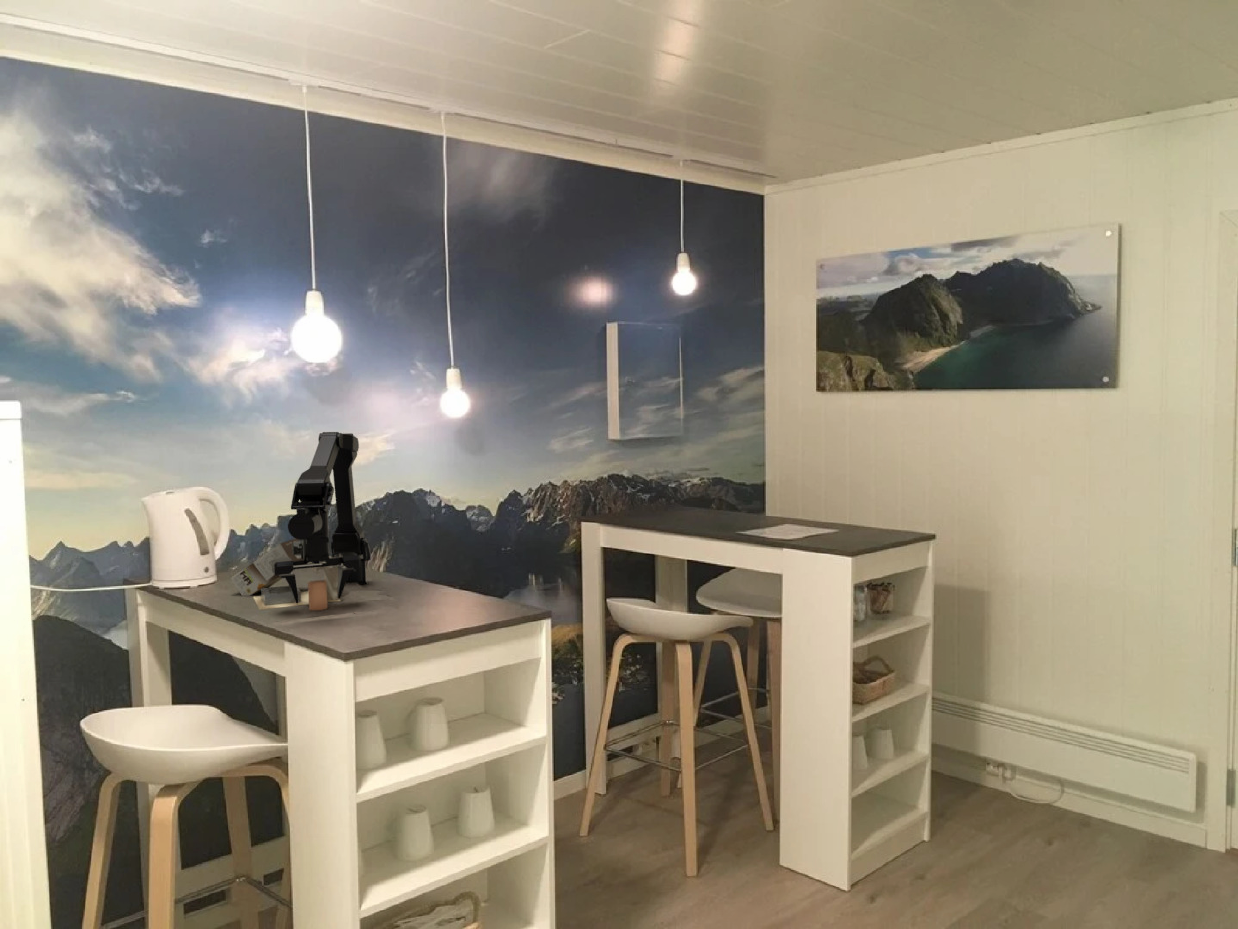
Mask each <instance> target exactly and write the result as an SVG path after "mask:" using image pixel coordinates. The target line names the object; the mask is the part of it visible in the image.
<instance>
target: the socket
mask: <svg viewBox="0 0 1238 929" xmlns="http://www.w3.org/2000/svg"><path fill="white" fill-rule="evenodd" d="M260 592H261V594H260V596H261V599H262V601H263V602H264V604H265V606H266V605H275V604H285V603H294V602H295V599H294V597H293V594H292V591H291V589H290V586H289V585H284V586H283V585H282V586H271V587H269V588H261V591H260ZM297 592H298V602H301V592H302V591H301V590H300V589H299V587H298V586H297Z"/></svg>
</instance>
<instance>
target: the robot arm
mask: <svg viewBox="0 0 1238 929" xmlns="http://www.w3.org/2000/svg"><path fill="white" fill-rule="evenodd" d="M359 445H360V443H359V438H358V437H356V436H355V435H354V434H353V433H348V432H347V433H342V432H339V431H323V432H321V433H319V434H318V444H317V446H316V449H315V452H314V454H313V458H312V461H311V464H310V466H309V468H308V469H307V470H305V471H303V472H302V473H301V474H300V475H299V478H298V479H297V482H295V484H294V489H293V495H292V500H291V504H290V509H291V510H296V514H294V515H293V516H291V517H290V518H289V521H288V523H287V530H288V532H289V534H290V536H292V537H293V539H299V540H300V541H292V555H293V556H299V555H301V560H300V561H292V559H291V558H279V559H274V560H273V561H272V572H273V573H274V574H275V575H279V576H280V577H281V578H282V579H284V580H286V582H287V584H288V586H290V589H291V591H292V594H293V597H294V599H295V602H296V603H298V592H297V587H298V585H297V580H296V573H294V571H293V569H295V570H299V569H312V568H313V567H324V566H335V565H338V586H337V597H338V599H340V600H341V597H342V595H343V592H344V588H345V586H346V583H349V584H350V583H353V584H354V583H357V584H358V585H359V586H363V585H364V586H365V585H368V581H367V580H366V579H367V576H366V575H367V574H366V573H367V572H366V570H367V569H366V562H367V561H371V560H372V554H371V548H370V545H369V542H368V540H367V537H365V530H364V528H363V527H362V526H361V525H360V523H359V522H358V521H357V514H356V511H357V510H356V504H355V503H356V500H355V491H354V488H355V487H354V479H353V465H354V462H355V460H356V459H357V457H358V452H359V448H360V446H359ZM332 473H333V483H332V482H331V478H330V477H331V474H332ZM334 494H335V506H336V509H335V510H336V518H337V527H336V528H335V530H334V533H333V534H332V536H331V540H330V538H329V535H330V534H329V532H330V531H329V513H328V512H329V511H328V509H329V507H330V506H331V505H332V501H333V497H334ZM330 541H331V542H330ZM301 543H302V544H301ZM330 549H331V555H332V556H331V555H330ZM330 556H331V557H332V558H330ZM309 562H311V564H308V563H309ZM323 562H326V563H323Z"/></svg>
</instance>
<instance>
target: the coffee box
mask: <svg viewBox="0 0 1238 929" xmlns="http://www.w3.org/2000/svg"><path fill="white" fill-rule="evenodd" d="M292 541H301V540H299V539H296V538H293V539H289V540H286V541H283V542H280V543H279V544H278V545H277V546H275V547H273V548H272V549H270V550H269V551H268V552H267V553H265V554H263V555H261V556H260V557H259V558H257V559H256V560H255V561H254V562H252V563H251V564H248V565H247V566H246V567H245V568H243V569H242V570H240V571H239V572H237V573H236V574H235V575H233V576H232V577H230V580H231V581H232V582H233V584H234V586H235V588H236V590H238V592H239V594H241V596H243V597H247V596H252V595H255V594H257V593H260V592H261V588H271V587H273V585H275V584H276V583H278V582H280V580H282V579H283V578H281V577H280V576H279V575H275V574H274V573H273V572H272V561H273V560H274V559H279V558H291V559H292V561H300V560H301V555H299V556H293V555H292ZM301 544H302V542H301ZM295 570H296V569H293V572H294V571H295Z"/></svg>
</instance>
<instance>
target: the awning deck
mask: <svg viewBox="0 0 1238 929" xmlns="http://www.w3.org/2000/svg"><path fill="white" fill-rule="evenodd" d="M329 556H330V558H333V557H332V556H331V555H329ZM323 563H326V562H323ZM307 564H311V562H309V563H307ZM338 566H339V565H335V566H324V567H313V568H311V569H312V571H313V572H314V573H315V574H316V575H319V570H323V580H324V581H327V603H335V602H342V600H341V598H340V599H338V597H337V586H338ZM252 598H253V600H254V601H255V604H256V605H257V607H258V609H259V610H260V611H261V610H270V609H278V608H288V607H290V608H291V607H297V606H298V607H299V606H307V605H308V606H309V595H308V590H307V591H305V590H304V591H301V602H298V603H296V602H294V603H285V604H275V605H266V606H265V604H264V602H263V601H262V599H261V595H256V596H253V597H252Z"/></svg>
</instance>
